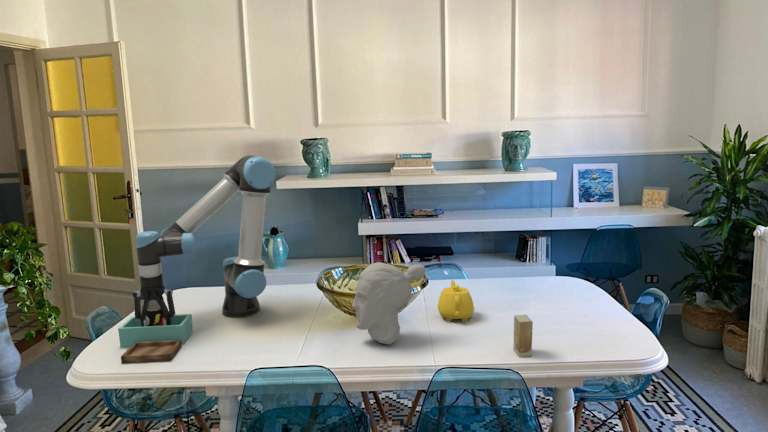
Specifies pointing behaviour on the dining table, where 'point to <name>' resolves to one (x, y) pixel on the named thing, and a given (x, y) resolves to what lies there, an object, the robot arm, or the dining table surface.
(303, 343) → the dining table surface
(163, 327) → the teal open box
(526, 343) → the skincare box
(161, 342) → the tray
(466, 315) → the teapot
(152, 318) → the beverage can
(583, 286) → the dining table surface
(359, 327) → the bust
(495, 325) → the dining table surface
